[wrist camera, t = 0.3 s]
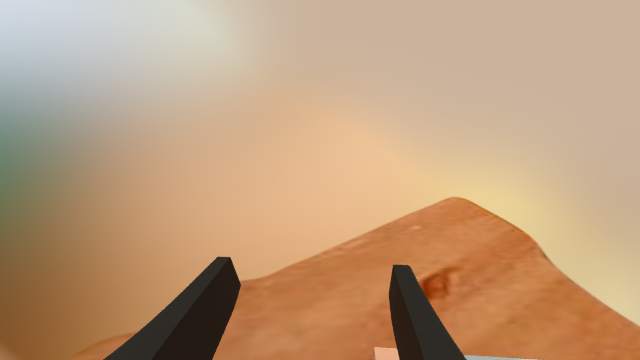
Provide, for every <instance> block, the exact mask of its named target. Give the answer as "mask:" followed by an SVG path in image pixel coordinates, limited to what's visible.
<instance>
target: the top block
mask: <svg viewBox="0 0 640 360" xmlns="http://www.w3.org/2000/svg"><path fill="white" fill-rule="evenodd" d="M371 360H399V355H398V350H397V349H394V348H377V347H374V350H373V354H372V357H371Z"/></svg>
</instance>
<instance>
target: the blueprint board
mask: <svg viewBox="0 0 640 360" xmlns="http://www.w3.org/2000/svg"><path fill="white" fill-rule="evenodd" d="M464 357H465V358H466V359H467V360H535V359H518V358H501V357H485V356H468V355H464Z"/></svg>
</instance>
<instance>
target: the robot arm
mask: <svg viewBox="0 0 640 360" xmlns="http://www.w3.org/2000/svg"><path fill="white" fill-rule="evenodd" d="M240 287H241V284H240V281H239V279H238V276H237V274H236V271H235V268H234V266H233V263H232V260H231V258H230V257H217V258H216V259H215V260H214V261H213V262H212V263H211V264H210V265H209V266H208V267H207V268H206V269H205V270H204V271H203V272H202V273H201V274H200V275H199V276H198V277H197V278H196V279H195V280H194V281H193V282H192V283H191V284H190V285H189V286H188V287H187V288H186V289H185V290H184V291H183V292H182V293H180V295H178V297H176V298H175V299H174V300H173V301H172V302H171V303H170V304H169V305H168V306H167V307H166V308H165V309H164V310H162V311H161V312H160V313H159V314H158V315H157V316H156V317H155V318H154V319H153V320H151V321H150V322H149V323H148V324H147V325H146V326H145V327H143V328H142V329H141V330H140V331H139V332H138V333H136V334H135V335H134V336H133V337H132V338H130V339H129V340H128V341H127V342H125V343H124V344H123V345H122V346H120V347H119V348H118V349H117V350H115V351H114V352H113V353H111V354H110V355H109V356H107V357H106V358H105V359H103V360H212V359H213V356H214V354H215V352H216V349H217V347H218V345H219V342H220V340H221V338H222V336H223V333H224V331H225V329H226V326H227V324H228V322H229V319H230V317H231V314H232V312H233V310H234V307H235V304H236V300H237V297H238V294H239V290H240ZM389 301H390V311H391V320H392V325H393V330H394V335H395V340H396V345H397V350H398V355H399V360H467V359H466V358H465V357H464V355H463V354H462V352H461V351H460V349H459V348H458V346H457V345H456V344H455V342H454V341H453V339H452V338H451V336H450V335H449V333H448V332H447V330H446V329H445V327H444V325H443V324H442V322H441V321H440V319H439V317H438V316H437V314H436V313H435V311H434V309H433V308H432V306H431V304H430V303H429V301H428V299H427V298H426V296H425V294H424V292H423V290H422V289H421V287H420V285H419V283H418V281H417V279H416V277H415V275H414V273H413V271H412V269H411V267H410V266H409V265H393V269H392V276H391V283H390V289H389Z"/></svg>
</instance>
